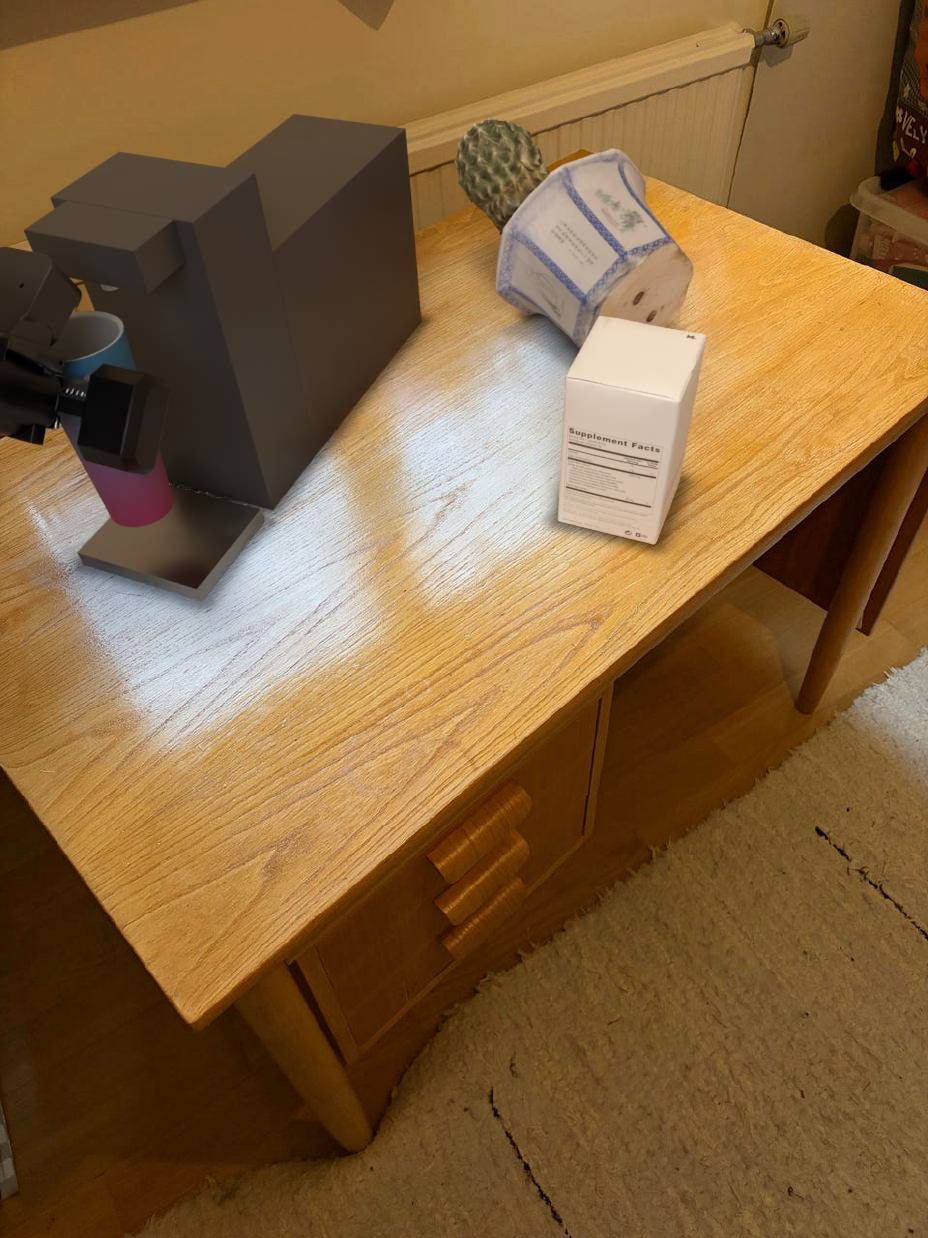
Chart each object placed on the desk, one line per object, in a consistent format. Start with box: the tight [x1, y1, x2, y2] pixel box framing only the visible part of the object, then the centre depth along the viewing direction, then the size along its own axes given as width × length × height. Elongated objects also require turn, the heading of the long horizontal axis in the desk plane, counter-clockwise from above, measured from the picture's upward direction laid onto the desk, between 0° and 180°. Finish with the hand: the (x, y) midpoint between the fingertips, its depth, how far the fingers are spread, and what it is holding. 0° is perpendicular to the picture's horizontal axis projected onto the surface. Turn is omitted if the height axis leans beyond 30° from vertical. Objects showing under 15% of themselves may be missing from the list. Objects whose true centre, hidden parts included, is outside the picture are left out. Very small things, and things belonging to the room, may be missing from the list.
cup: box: [50, 310, 174, 527], centre depth 65 cm, size 7×7×15 cm
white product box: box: [557, 316, 707, 545], centre depth 71 cm, size 9×9×15 cm
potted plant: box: [453, 117, 694, 350], centre depth 91 cm, size 18×18×30 cm
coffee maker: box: [23, 113, 422, 511], centre depth 78 cm, size 37×12×26 cm, turn 158°
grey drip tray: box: [76, 484, 265, 602], centre depth 75 cm, size 10×12×2 cm
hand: (120, 418), depth 65 cm, fingers closed on cup, 6 cm apart
